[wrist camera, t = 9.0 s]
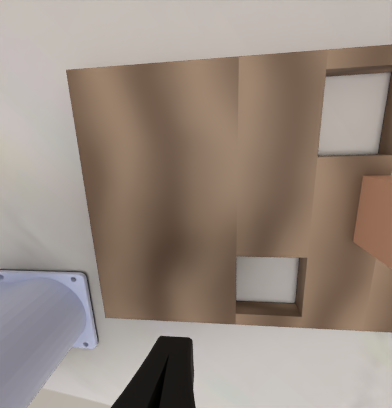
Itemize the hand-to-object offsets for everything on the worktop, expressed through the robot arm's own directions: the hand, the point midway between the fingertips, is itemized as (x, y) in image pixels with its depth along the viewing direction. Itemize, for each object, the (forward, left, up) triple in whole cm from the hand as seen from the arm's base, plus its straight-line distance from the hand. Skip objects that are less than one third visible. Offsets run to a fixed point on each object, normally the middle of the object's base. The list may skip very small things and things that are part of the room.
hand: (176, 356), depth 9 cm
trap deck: (+4, +4, -9) cm, 11 cm away
